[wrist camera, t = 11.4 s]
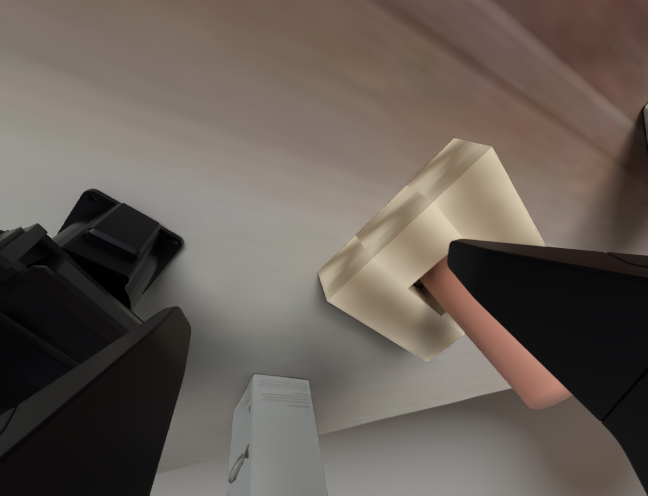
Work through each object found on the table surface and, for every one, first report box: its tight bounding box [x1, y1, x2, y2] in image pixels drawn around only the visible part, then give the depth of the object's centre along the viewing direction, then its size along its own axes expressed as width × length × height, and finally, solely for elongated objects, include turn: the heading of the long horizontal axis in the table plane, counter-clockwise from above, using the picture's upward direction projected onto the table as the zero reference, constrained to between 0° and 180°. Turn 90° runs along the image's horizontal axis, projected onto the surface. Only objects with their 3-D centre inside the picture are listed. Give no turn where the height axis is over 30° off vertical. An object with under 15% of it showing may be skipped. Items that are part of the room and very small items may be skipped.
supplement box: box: [226, 374, 328, 496], centre depth 27 cm, size 7×7×13 cm
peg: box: [419, 254, 572, 409], centre depth 21 cm, size 4×4×14 cm
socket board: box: [318, 138, 546, 362], centre depth 25 cm, size 16×16×4 cm
